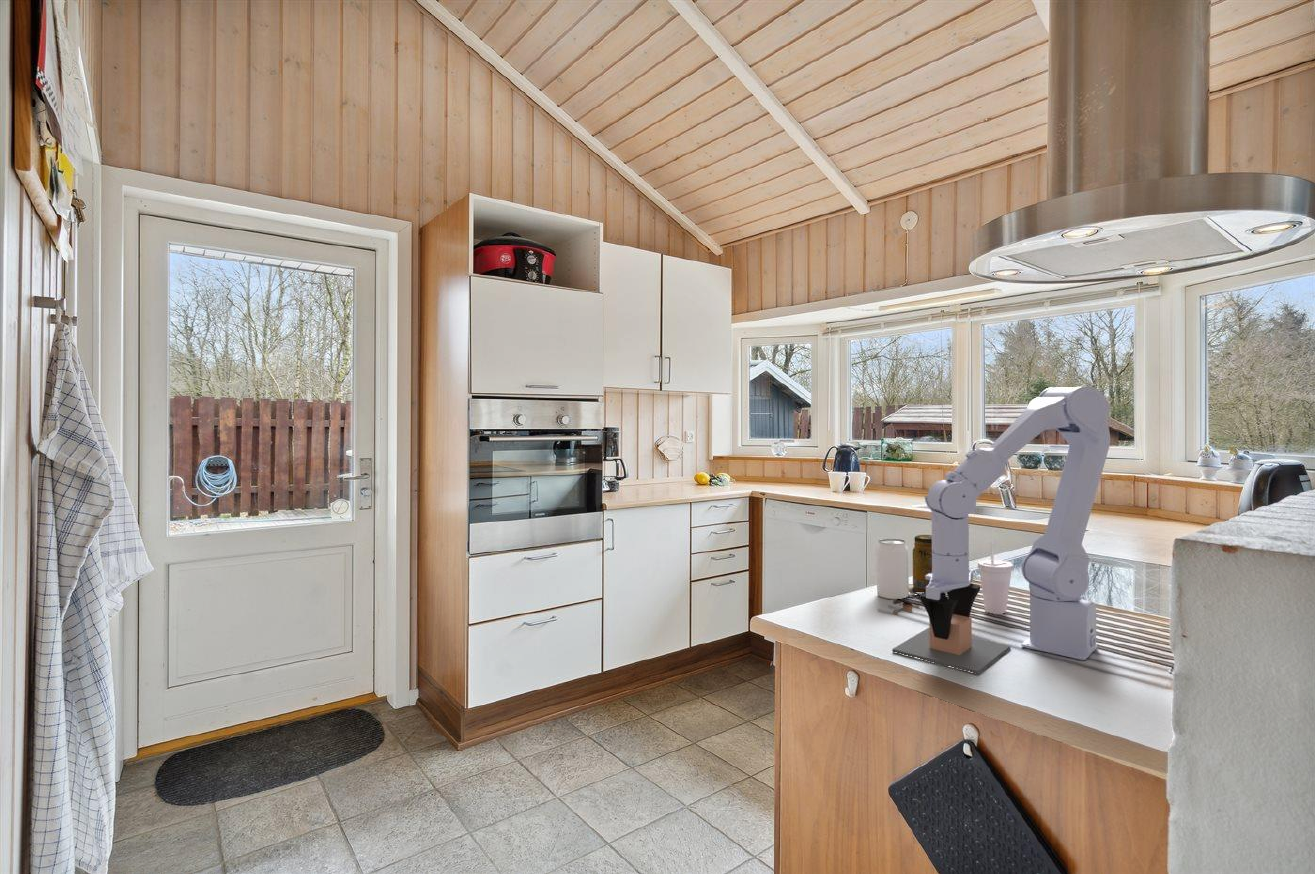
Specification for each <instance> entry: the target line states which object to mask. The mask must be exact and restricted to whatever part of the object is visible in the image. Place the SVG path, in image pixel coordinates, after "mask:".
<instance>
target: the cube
mask: <svg viewBox="0 0 1315 874" xmlns="http://www.w3.org/2000/svg"><path fill="white" fill-rule="evenodd" d="M972 618H973V617H971V616H970V617H965V616H961V615H956V614H953V615H952V620H951V628H950V635H949V638H948V639H947V640H945V639H941V638H937V637H935V636H934V633H933V630H932V626H931V622H930V619H929V618H928V619H929V621H928V622H929V623H928V624H929V625H928V628H929V634H930V648H933V649H937V650H941V651H945V652H949V653H953V654H957V655H961V654H962V653H963V652H965V651H966V650H968V649H969V648H971V647H972V637H973V635H972V633H973V631H972V629H973V628H972V627H973V625H972V623H973V622H972V620H973V619H972Z"/></svg>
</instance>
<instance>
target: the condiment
mask: <svg viewBox="0 0 1315 874" xmlns="http://www.w3.org/2000/svg"><path fill="white" fill-rule="evenodd" d="M913 545H914V546H913V548H912V584H909V591H910V592H911V593H910V594H911V595H912V596H916V595H915V594H917V593H916V592H926V586H928V585H929V582H930V580H927V579H926V577H925V576H926V575H927V574H930V573H932V534H918V535H916V536H914V543H913Z"/></svg>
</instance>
